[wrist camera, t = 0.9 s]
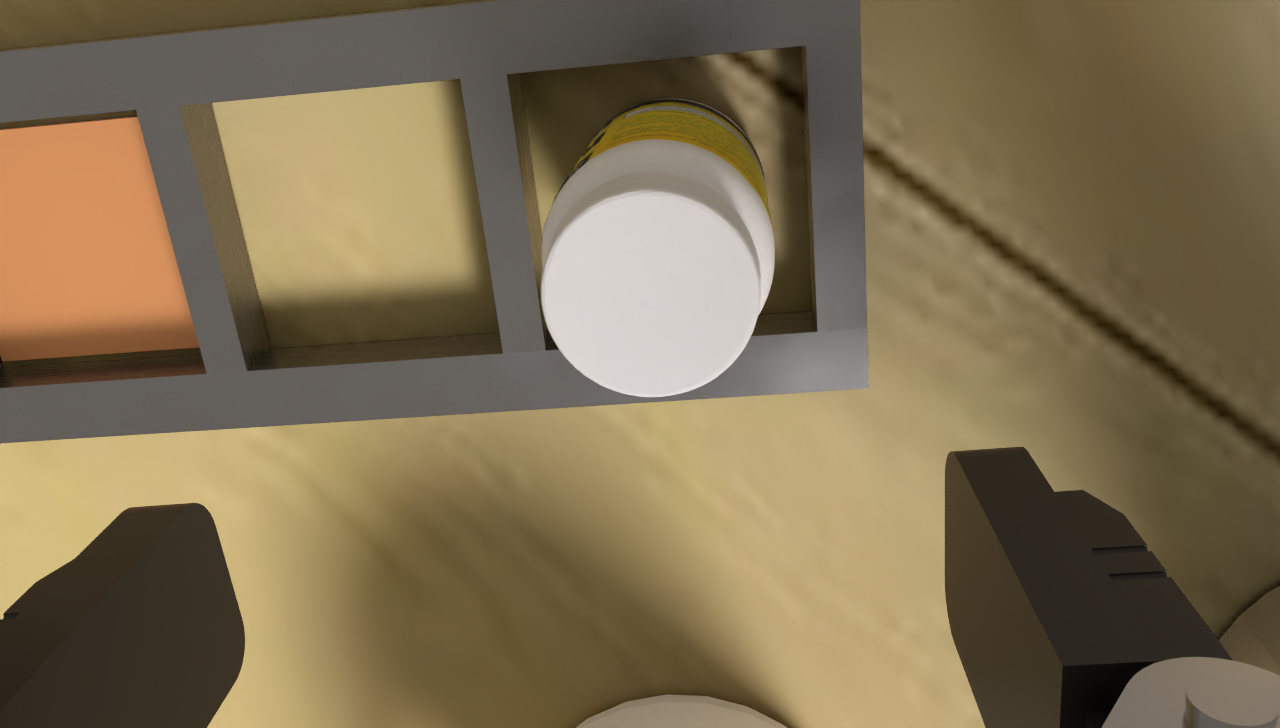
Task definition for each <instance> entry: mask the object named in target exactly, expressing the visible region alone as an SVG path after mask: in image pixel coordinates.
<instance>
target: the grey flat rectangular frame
mask: <svg viewBox="0 0 1280 728" xmlns="http://www.w3.org/2000/svg"><path fill="white" fill-rule="evenodd" d="M796 46H801V56H802V79H803V103H804V127H805V151H806V174H807V198H808V222H809V246H810V269H811V293H812V311H803V312H789V313H775V314H760V315H758V318H757V321H756V324H755V328H754V330H753V333H752V335H751V337H750V339H749V341H748V343H747V345H746V346H745V348H744V350H743V351H742V352H741V354H740V355H739V356H738V358H737V359H736V360H735V361H734V362H733V363H732V364H731V365H730V366H729V367H728V368H727V369H726V370H725V371H724V372H722V373H721V374H720V375H719V376H718V377H716V378H715V379H713V380H712V381H710V382H708V383H706V384H705V385H703V386H700V387H698V388H696V389H693V390H691V391H688V392H684V393H681V394H676V395H671V396H663V397H639V396H633V395H627V394H623V393H620V392H616V391H614V390H611V389H608V388H606V387H604V386H601V385H599V384H598V383H596V382H594V381H593V380H591V379H589V378H588V377H586V376H585V375H583V374H582V373H581V372H580V371H579V370H577V369H576V368H575V367H574V366H573V365H572V364H571V363H570V362H569V361H568V360H567V359H566V358H565V356H564V355H563V354H562V352H561V351H560V350H559V348H558V347H557V345H556V343H555V342H554V340H553V338H552V337H551V334H550V332H549V330H548V328H547V325H546V321H545V318H544V314H543V309H542V304H541V278H542V271H543V267H542V231H541V224H540V217H539V210H538V202H537V195H536V188H535V180H534V173H533V166H532V158H531V151H530V144H529V136H528V129H527V122H526V114H525V107H524V100H523V92H522V85H521V78H520V73H525V72H536V71H546V70H557V69H567V68H577V67H588V66H598V65H609V64H619V63H629V62H640V61H650V60H661V59H671V58H681V57H692V56H702V55H713V54H723V53H733V52H744V51H754V50H765V49H775V48H786V47H796ZM452 79H460V83H461V89H462V95H463V102H464V108H465V115H466V121H467V127H468V134H469V140H470V146H471V153H472V159H473V165H474V172H475V178H476V185H477V191H478V197H479V204H480V210H481V216H482V223H483V229H484V236H485V242H486V248H487V255H488V261H489V267H490V274H491V280H492V287H493V293H494V299H495V306H496V312H497V318H498V325H499V331H500V333H492V334H478V335H464V336H450V337H436V338H421V339H407V340H393V341H379V342H365V343H351V344H337V345H323V346H308V347H294V348H280V349H271V346H270V342H269V338H268V334H267V330H266V326H265V322H264V318H263V313H262V309H261V305H260V301H259V297H258V293H257V289H256V285H255V280H254V276H253V272H252V268H251V264H250V260H249V256H248V251H247V247H246V243H245V239H244V235H243V231H242V227H241V223H240V218H239V214H238V210H237V206H236V202H235V198H234V194H233V190H232V185H231V181H230V177H229V173H228V169H227V165H226V161H225V157H224V152H223V148H222V144H221V140H220V136H219V132H218V128H217V123H216V119H215V115H214V111H213V107H212V103H213V102H223V101H234V100H244V99H255V98H265V97H275V96H286V95H296V94H307V93H317V92H328V91H338V90H348V89H359V88H369V87H380V86H390V85H400V84H411V83H421V82H432V81H442V80H452ZM130 110H136V112H137V116H138V120H139V123H140V127H141V131H142V135H143V138H144V142H145V146H146V149H147V153H148V157H149V161H150V164H151V168H152V172H153V175H154V179H155V183H156V187H157V190H158V194H159V198H160V202H161V205H162V209H163V213H164V216H165V220H166V224H167V228H168V231H169V235H170V239H171V243H172V246H173V250H174V254H175V257H176V261H177V265H178V269H179V272H180V276H181V280H182V284H183V287H184V291H185V295H186V298H187V302H188V306H189V310H190V313H191V317H192V321H193V325H194V328H195V332H196V336H197V339H198V343H199V347H200V351H201V354H195V355H181V356H167V357H153V358H139V359H125V360H111V361H97V362H82V363H68V364H54V365H40V366H26V367H12V368H3V367H2V365H1V362H0V443H12V442H28V441H43V440H59V439H75V438H91V437H107V436H123V435H139V434H154V433H170V432H186V431H202V430H218V429H234V428H250V427H265V426H281V425H297V424H313V423H329V422H345V421H361V420H376V419H392V418H408V417H424V416H440V415H456V414H471V413H487V412H503V411H519V410H535V409H551V408H567V407H582V406H598V405H614V404H630V403H646V402H662V401H678V400H693V399H709V398H725V397H741V396H757V395H773V394H789V393H804V392H820V391H836V390H852V389H868V350H867V306H866V261H865V216H864V171H863V127H862V82H861V37H860V0H480V1H470V2H460V3H451V4H441V5H431V6H422V7H412V8H402V9H393V10H383V11H373V12H364V13H354V14H345V15H335V16H325V17H316V18H306V19H296V20H287V21H277V22H267V23H258V24H248V25H238V26H229V27H219V28H209V29H200V30H190V31H180V32H171V33H161V34H151V35H142V36H132V37H122V38H113V39H103V40H93V41H84V42H74V43H64V44H55V45H45V46H36V47H26V48H16V49H7V50H0V123H5V122H15V121H26V120H36V119H46V118H57V117H67V116H78V115H88V114H99V113H109V112H119V111H130Z"/></svg>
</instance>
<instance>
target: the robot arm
mask: <svg viewBox="0 0 1280 728" xmlns="http://www.w3.org/2000/svg"><path fill="white" fill-rule="evenodd" d="M945 593H946V604H947V611H948V618H949V623H950V628H951V633H952V636H953V640H954V643H955V646H956V649H957V651H958V654H959V657H960V659H961V662H962V665H963V668H964V670H965V673H966V676H967V678H968V681H969V684H970V686H971V689H972V692H973V695H974V697H975V700H976V703H977V705H978V708H979V711H980V713H981V716H982V719H983V722H984V724H985V727H986V728H1280V586H1278V587H1277V588H1275V589H1273V590H1271V591H1270V592H1268V593H1266V594H1265V595H1264V596H1263V597H1261V598H1260V599H1259V600H1258V601H1257V602H1255V603H1254V604H1253V605H1252V606H1251V607H1249V608H1248V609H1247V610H1246V611H1244V612H1243V613H1242V614H1241V615H1240V616H1239V617H1238V618H1237V619H1236V620H1235V621H1234V623H1233V624H1232V625H1231V626H1230V628H1229V629H1228V630H1227V631H1226V632H1225V634H1224V635H1223V636H1222V637H1221V638H1220V640H1219V641H1218V639H1217V638H1216V637H1215V635H1214V634H1213V633H1212V631H1211V630H1210V629H1209V627H1208V626H1207V625H1206V623H1205V622H1204V621H1203V619H1202V618H1201V617H1200V615H1199V614H1198V613H1197V611H1196V610H1195V609H1194V607H1193V606H1192V605H1191V603H1190V602H1189V601H1188V599H1187V598H1186V597H1185V595H1184V594H1183V593H1182V591H1181V590H1180V589H1179V587H1178V586H1177V585H1176V583H1175V582H1174V581H1173V579H1172V578H1171V577H1169V578H1167V576H1166V570H1165V569H1164V567H1163V566H1162V565H1161V563H1160V562H1159V561H1158V559H1157V558H1156V557H1155V555H1154V554H1153V553H1152V551H1147V545H1146V543H1145V542H1144V541H1143V539H1142V538H1141V537H1140V535H1139V534H1138V533H1137V531H1136V530H1135V529H1134V527H1133V526H1132V525H1131V523H1130V522H1129V521H1128V520H1127V518H1126V517H1125V516H1124V514H1122V513H1120V512H1119V511H1117V510H1115V509H1114V508H1112V507H1110V506H1109V505H1107V504H1105V503H1104V502H1102V501H1100V500H1099V499H1097V498H1095V497H1094V496H1092V495H1090V494H1089V493H1087V492H1085V491H1084V490H1076V491H1061V492H1054V491H1053V489H1052V488H1051V486H1050V485H1049V483H1048V482H1047V480H1046V479H1045V477H1044V475H1043V474H1042V472H1041V471H1040V469H1039V468H1038V466H1037V465H1036V463H1035V462H1034V460H1033V459H1032V457H1031V456H1030V454H1029V453H1028V451H1027V450H1026V449H1025V448H1024V447H1010V448H996V449H982V450H968V451H953V452H950V453H949V454H948V456H947V460H946V467H945ZM244 649H245V633H244V625H243V621H242V617H241V613H240V610H239V606H238V603H237V599H236V596H235V592H234V589H233V585H232V582H231V578H230V575H229V571H228V568H227V564H226V561H225V557H224V554H223V550H222V547H221V543H220V540H219V536H218V533H217V529H216V526H215V523H214V520H213V518H212V516H211V514H210V513H209V511H208V510H207V509H206V508H205V507H204V506H203V505H201V504H198V503H187V504H173V505H159V506H145V507H132V508H128V509H126V510H124V511H123V512H122V513H121V514H120V515H119V516H118V517H117V518H116V519H115V520H114V521H113V522H112V523H111V524H110V525H109V526H108V527H107V528H105V529H104V530H103V531H102V532H101V533H100V534H99V535H98V536H97V537H96V538H95V539H94V540H93V541H92V542H91V543H90V544H89V545H88V546H87V547H86V548H85V549H84V550H83V551H82V552H81V553H80V554H79V555H78V556H77V557H76V558H75V559H73V560H72V561H70V562H69V563H67V564H65V565H64V566H62V567H60V568H59V569H57V570H55V571H54V572H52V573H50V574H49V575H47V576H46V577H44V578H42V579H41V580H39V581H37V582H36V583H35V584H34V585H33V586H32V587H30V588H29V589H28V590H27V591H26V592H25V593H24V594H23V595H22V596H21V597H20V598H19V599H18V600H17V601H16V602H15V603H14V604H13V605H12V606H11V607H10V608H9V609H8V610H7V611H6V612H5V613H4V618H3V619H2V620H0V728H207V726H208V725H209V723H210V722H211V720H212V718H213V717H214V715H215V714H216V712H217V710H218V709H219V707H220V706H221V704H222V702H223V701H224V699H225V698H226V696H227V694H228V693H229V691H230V690H231V688H232V686H233V685H234V683H235V681H236V680H237V678H238V675H239V673H240V670H241V666H242V663H243V657H244Z"/></svg>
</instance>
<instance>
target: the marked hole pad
mask: <svg viewBox="0 0 1280 728" xmlns="http://www.w3.org/2000/svg"><path fill="white" fill-rule="evenodd" d="M198 347H199V343H198V339H197V336H196V332H195V328H194V325H193V321H192V317H191V313H190V310H189V306H188V302H187V298H186V295H185V291H184V287H183V284H182V280H181V276H180V272H179V269H178V265H177V261H176V257H175V254H174V250H173V246H172V243H171V239H170V235H169V231H168V228H167V224H166V220H165V216H164V213H163V209H162V205H161V202H160V198H159V194H158V190H157V187H156V183H155V179H154V175H153V172H152V168H151V164H150V161H149V157H148V153H147V149H146V146H145V142H144V138H143V135H142V131H141V127H140V123H139V120H138V116H131V117H120V118H110V119H99V120H89V121H78V122H68V123H57V124H47V125H36V126H26V127H16V128H5V129H0V355H1V358H2V361H16V360H30V359H44V358H58V357H72V356H86V355H100V354H114V353H128V352H142V351H156V350H170V349H184V348H198Z"/></svg>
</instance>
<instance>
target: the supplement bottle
mask: <svg viewBox="0 0 1280 728" xmlns="http://www.w3.org/2000/svg"><path fill="white" fill-rule="evenodd" d="M774 264H775V240H774V233H773V227H772V223H771V218H770V212H769V206H768V199H767V191H766V185H765V178H764V173H763V169H762V166H761V163H760V160H759V157H758V155H757V152H756V150H755V148H754V146H753V145H752V143H751V141H750V140H749V138H748V137H747V136H746V134H745V133H744V132H743V131H742V130H741V129H740V127H739V126H738V125H737V124H735V123H734V122H733V121H732V120H731V119H730V118H729V117H727V116H726V115H724V114H723V113H721V112H719V111H718V110H716V109H714V108H712V107H710V106H708V105H705V104H702V103H700V102H696V101H692V100H687V99H681V98H662V99H654V100H649V101H645V102H642V103H639V104H636V105H634V106H631V107H629V108H627V109H625V110H624V111H622V112H620V113H619V114H617V115H616V116H614V117H613V118H612V119H610V120H609V121H608V122H607V123H606V124H605V125H604V126H603V127H602V128H601V129H600V130H599V131H598V133H597V134H596V135H595V136H594V138H593V139H592V140H591V141H590V143H589V145H588V146H587V147H586V149H585V151H584V153H583V154H582V156H581V158H580V159H579V160H578V162H577V163H576V165H575V166H574V168H573V169H572V171H571V173H570V175H569V176H568V177H567V179H566V180H565V182H564V183H563V185H562V187H561V188H560V190H559V192H558V194H557V195H556V197H555V199H554V201H553V204H552V206H551V209H550V211H549V214H548V217H547V220H546V223H545V226H544V232H543V238H542V267H543V271H542V278H541V304H542V309H543V314H544V318H545V321H546V325H547V328H548V330H549V332H550V334H551V337H552V338H553V340H554V342H555V343H556V345H557V347H558V348H559V350H560V351H561V352H562V354H563V355H564V356H565V358H566V359H567V360H568V361H569V362H570V363H571V364H572V365H573V366H574V367H575V368H576V369H577V370H579V371H580V372H581V373H582V374H583V375H585V376H586V377H588V378H589V379H591V380H593V381H594V382H596V383H598V384H599V385H601V386H604V387H606V388H608V389H611V390H614V391H616V392H620V393H623V394H627V395H633V396H639V397H663V396H671V395H676V394H681V393H684V392H688V391H691V390H693V389H696V388H698V387H700V386H703V385H705V384H706V383H708V382H710V381H712V380H713V379H715V378H716V377H718V376H719V375H720V374H721V373H722V372H724V371H725V370H726V369H727V368H728V367H729V366H730V365H731V364H732V363H733V362H734V361H735V360H736V359H737V358H738V356H739V355H740V354H741V352H742V351H743V350H744V348H745V346H746V345H747V343H748V341H749V339H750V337H751V335H752V333H753V330H754V328H755V324H756V321H757V318H758V315H759V314H760V312H761V310H762V308H763V306H764V304H765V302H766V299H767V297H768V294H769V291H770V288H771V284H772V280H773V274H774Z"/></svg>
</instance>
